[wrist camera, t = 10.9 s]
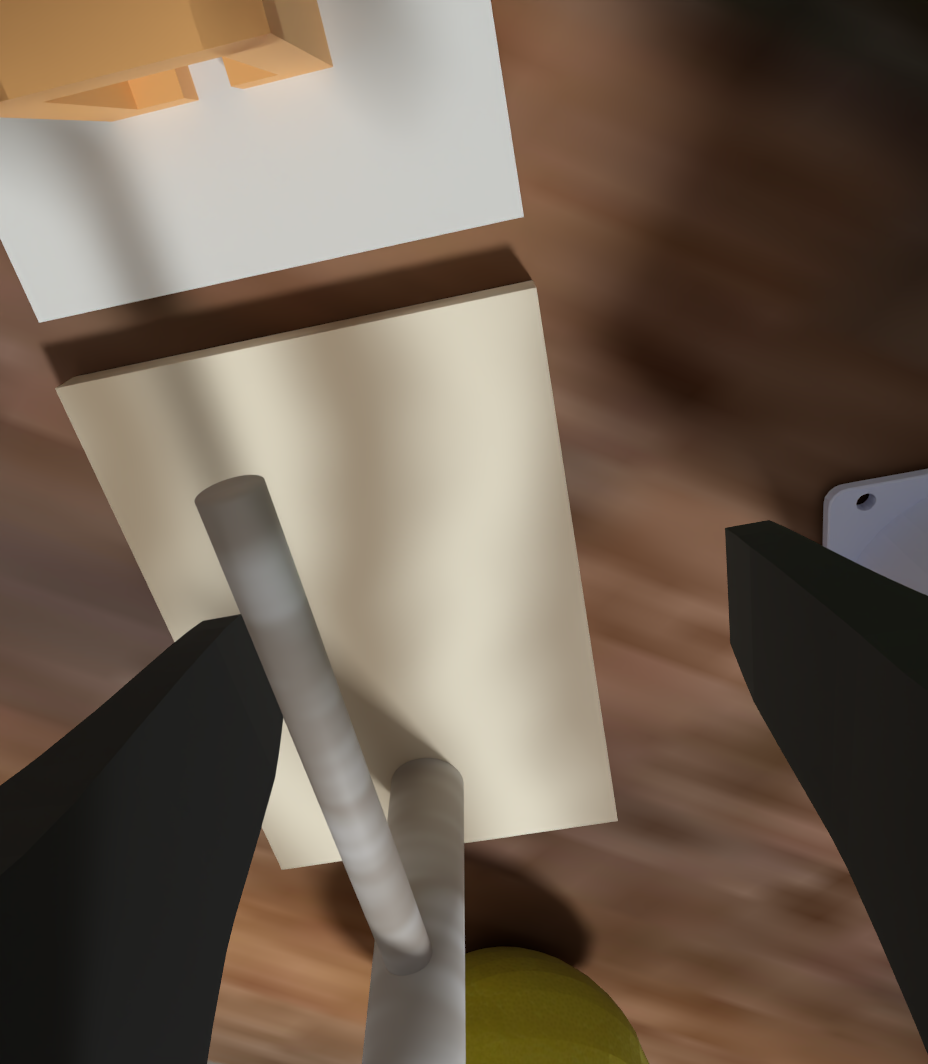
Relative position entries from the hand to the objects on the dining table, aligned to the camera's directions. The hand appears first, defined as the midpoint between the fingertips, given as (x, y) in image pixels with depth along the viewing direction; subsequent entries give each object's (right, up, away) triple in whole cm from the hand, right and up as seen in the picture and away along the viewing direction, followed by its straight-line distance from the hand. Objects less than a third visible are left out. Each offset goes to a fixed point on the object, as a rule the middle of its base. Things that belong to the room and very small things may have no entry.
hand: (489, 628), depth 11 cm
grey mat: (-6, +12, +5) cm, 14 cm away
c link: (-6, +12, +5) cm, 14 cm away
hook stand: (-3, -1, +12) cm, 12 cm away
